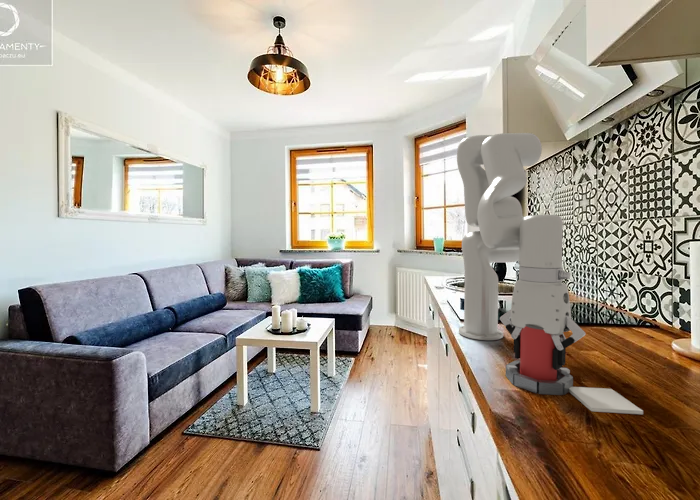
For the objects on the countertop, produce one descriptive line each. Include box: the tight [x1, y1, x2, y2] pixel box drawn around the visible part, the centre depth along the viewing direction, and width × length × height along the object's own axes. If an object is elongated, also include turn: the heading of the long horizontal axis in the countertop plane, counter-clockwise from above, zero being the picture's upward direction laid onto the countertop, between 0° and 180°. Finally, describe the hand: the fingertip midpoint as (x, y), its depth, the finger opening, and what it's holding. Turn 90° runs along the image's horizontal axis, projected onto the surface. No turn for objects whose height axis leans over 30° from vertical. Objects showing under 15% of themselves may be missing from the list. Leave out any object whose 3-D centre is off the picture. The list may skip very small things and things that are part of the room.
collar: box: [505, 359, 574, 396], centre depth 67 cm, size 11×12×3 cm
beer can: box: [519, 324, 558, 381], centre depth 66 cm, size 7×7×12 cm
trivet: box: [568, 386, 644, 415], centre depth 59 cm, size 8×8×1 cm
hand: (538, 361), depth 66 cm, fingers closed on beer can, 6 cm apart
